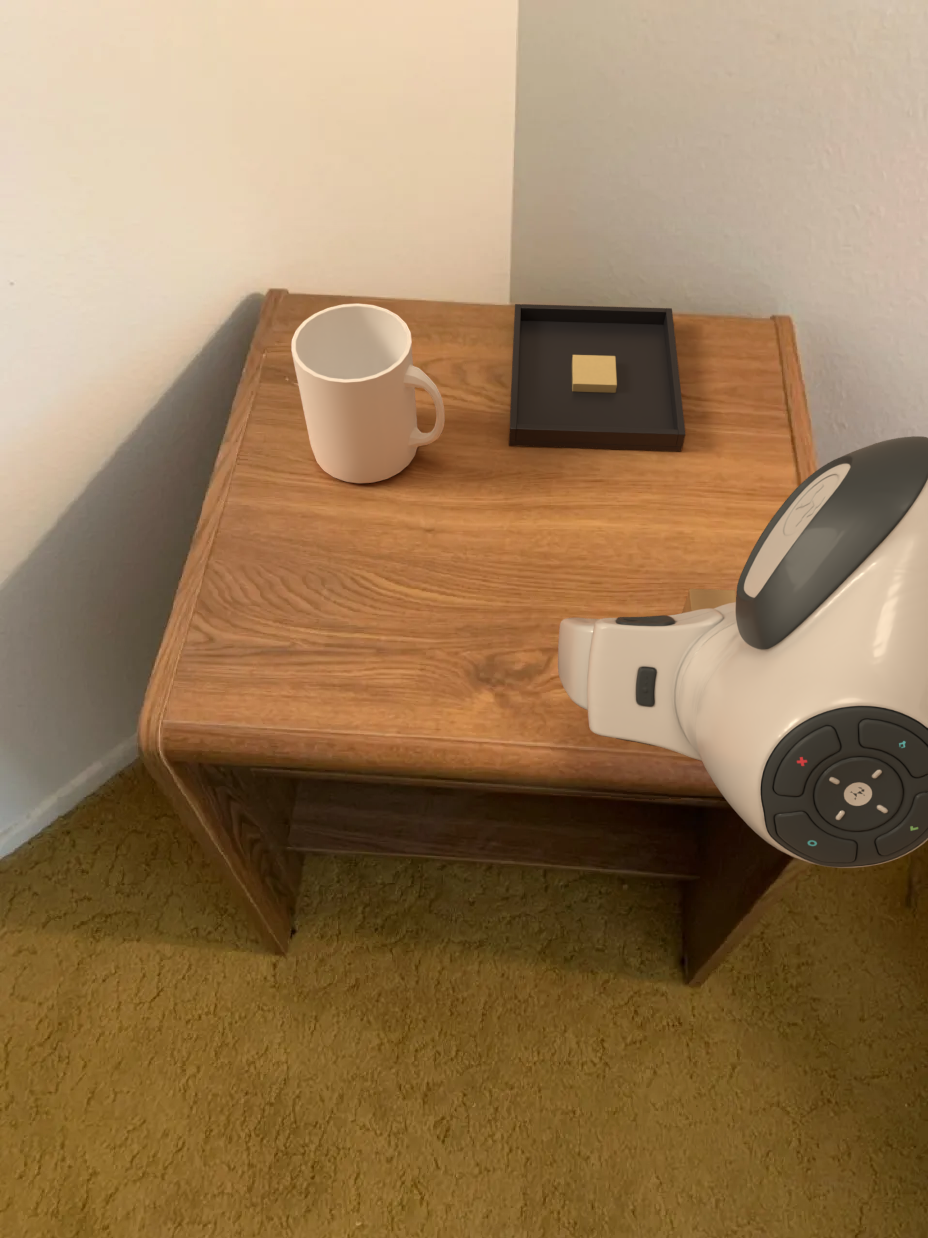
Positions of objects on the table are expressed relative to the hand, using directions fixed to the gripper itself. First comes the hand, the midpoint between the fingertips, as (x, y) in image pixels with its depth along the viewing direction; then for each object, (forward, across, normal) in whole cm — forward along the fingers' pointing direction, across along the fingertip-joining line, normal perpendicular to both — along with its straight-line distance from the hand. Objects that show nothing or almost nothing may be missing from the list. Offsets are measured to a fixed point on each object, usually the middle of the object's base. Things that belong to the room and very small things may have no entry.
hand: (700, 634), depth 64 cm
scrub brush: (+3, 0, +4) cm, 5 cm away
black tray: (+27, +6, -18) cm, 33 cm away
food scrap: (+26, +6, -19) cm, 33 cm away
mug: (+20, +25, -12) cm, 34 cm away
